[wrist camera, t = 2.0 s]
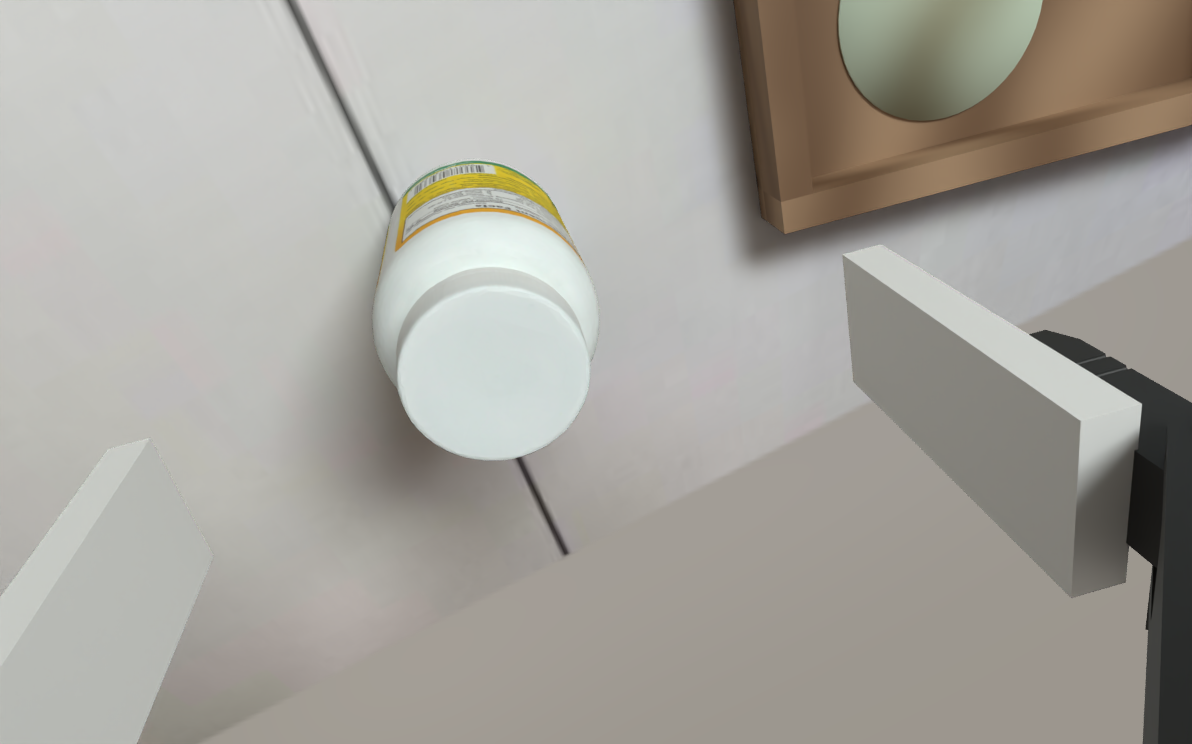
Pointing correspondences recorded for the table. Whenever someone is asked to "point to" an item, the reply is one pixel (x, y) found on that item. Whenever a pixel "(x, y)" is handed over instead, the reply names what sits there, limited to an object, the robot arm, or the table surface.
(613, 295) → the table surface
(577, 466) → the table surface
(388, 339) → the supplement bottle
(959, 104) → the tray
